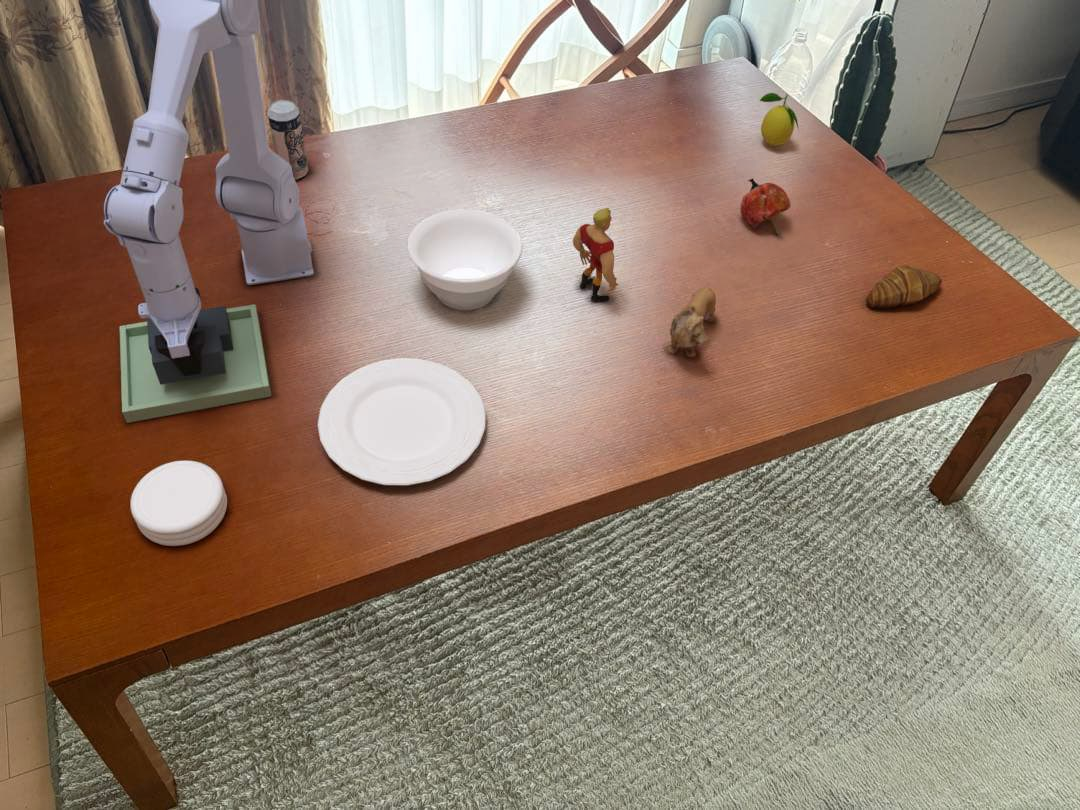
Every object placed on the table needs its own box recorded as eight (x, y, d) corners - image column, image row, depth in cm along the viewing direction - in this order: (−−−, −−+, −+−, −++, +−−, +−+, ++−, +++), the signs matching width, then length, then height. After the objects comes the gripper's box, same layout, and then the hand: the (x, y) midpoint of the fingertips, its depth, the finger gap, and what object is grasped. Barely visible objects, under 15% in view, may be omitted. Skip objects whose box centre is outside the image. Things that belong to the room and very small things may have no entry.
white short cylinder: (118, 530, 104) (109, 512, 102) (172, 465, 111) (165, 447, 108) (194, 560, 103) (187, 543, 100) (244, 492, 109) (239, 474, 106)
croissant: (920, 271, 143) (933, 246, 139) (950, 299, 139) (964, 274, 135) (851, 293, 139) (861, 267, 135) (879, 322, 135) (891, 297, 131)
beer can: (302, 183, 149) (291, 117, 140) (274, 178, 149) (261, 112, 140) (313, 167, 152) (303, 101, 143) (285, 162, 152) (273, 96, 143)
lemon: (750, 134, 166) (763, 83, 158) (782, 134, 166) (796, 83, 159) (760, 156, 161) (774, 104, 154) (792, 155, 162) (808, 104, 154)
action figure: (621, 308, 134) (635, 224, 122) (600, 316, 132) (613, 232, 121) (585, 269, 139) (595, 186, 127) (565, 277, 137) (574, 193, 126)
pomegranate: (785, 234, 151) (763, 177, 150) (809, 222, 144) (785, 162, 143) (747, 249, 149) (724, 191, 149) (769, 238, 142) (745, 177, 142)
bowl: (387, 288, 133) (382, 241, 127) (466, 240, 142) (466, 194, 135) (464, 345, 127) (463, 298, 120) (542, 291, 135) (546, 245, 129)
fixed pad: (229, 322, 126) (225, 305, 124) (233, 349, 123) (229, 333, 121) (152, 334, 124) (146, 318, 122) (154, 363, 121) (148, 347, 118)
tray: (258, 315, 128) (255, 304, 127) (271, 396, 119) (268, 385, 117) (123, 337, 124) (119, 325, 123) (126, 423, 115) (121, 412, 113)
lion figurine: (697, 379, 125) (710, 331, 118) (659, 369, 126) (670, 321, 119) (717, 309, 135) (730, 262, 128) (681, 300, 135) (692, 252, 129)
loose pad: (222, 346, 121) (216, 324, 118) (226, 373, 118) (219, 351, 115) (158, 357, 119) (150, 335, 116) (160, 384, 116) (152, 362, 113)
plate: (345, 515, 108) (343, 506, 106) (301, 390, 120) (299, 380, 118) (510, 464, 114) (511, 454, 112) (452, 350, 126) (452, 340, 125)
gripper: (126, 242, 111) (155, 323, 121) (129, 324, 102) (160, 404, 112) (187, 233, 113) (211, 314, 123) (196, 313, 104) (220, 393, 114)
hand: (190, 357), depth 118 cm, fingers closed on loose pad, 5 cm apart
